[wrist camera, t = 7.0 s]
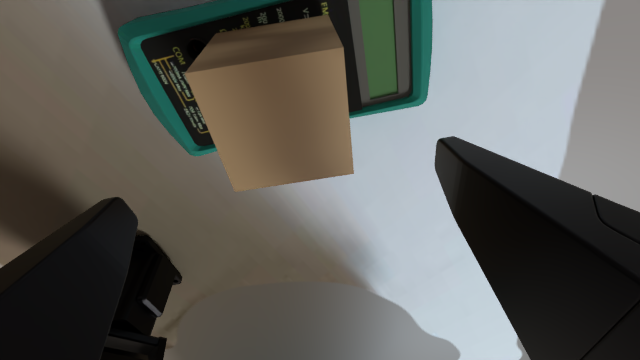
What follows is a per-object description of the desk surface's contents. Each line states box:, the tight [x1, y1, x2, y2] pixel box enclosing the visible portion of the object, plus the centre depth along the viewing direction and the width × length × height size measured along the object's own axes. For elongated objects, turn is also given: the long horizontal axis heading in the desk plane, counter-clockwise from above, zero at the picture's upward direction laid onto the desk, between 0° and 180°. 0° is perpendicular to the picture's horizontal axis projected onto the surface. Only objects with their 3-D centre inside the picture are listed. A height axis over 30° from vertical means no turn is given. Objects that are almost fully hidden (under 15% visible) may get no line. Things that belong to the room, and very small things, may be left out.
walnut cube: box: [185, 15, 354, 192], centre depth 13 cm, size 5×5×5 cm
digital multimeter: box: [118, 0, 432, 156], centre depth 16 cm, size 7×15×3 cm, turn 102°
